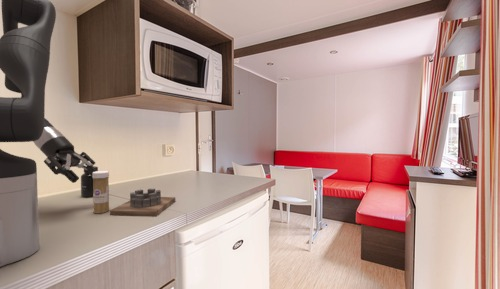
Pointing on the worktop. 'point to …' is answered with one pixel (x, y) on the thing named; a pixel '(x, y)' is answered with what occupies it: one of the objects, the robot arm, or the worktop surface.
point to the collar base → (143, 210)
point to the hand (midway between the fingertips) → (87, 178)
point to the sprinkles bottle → (100, 191)
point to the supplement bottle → (87, 184)
